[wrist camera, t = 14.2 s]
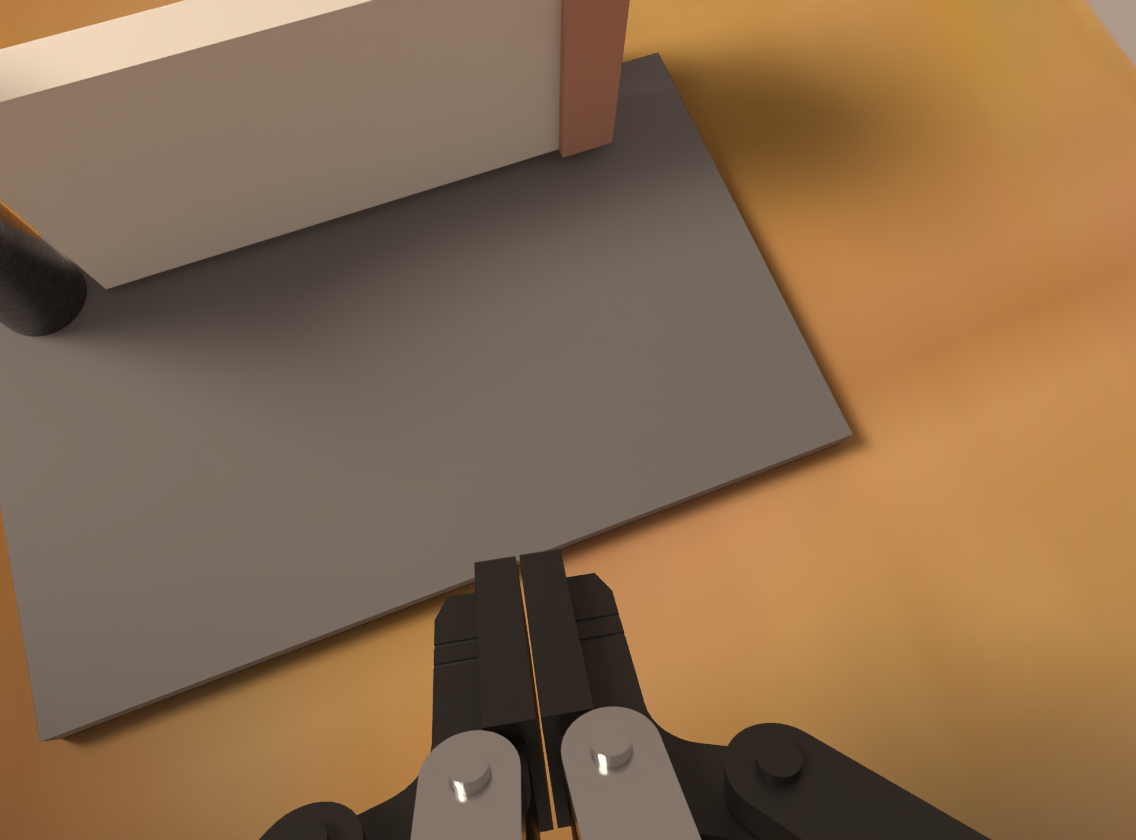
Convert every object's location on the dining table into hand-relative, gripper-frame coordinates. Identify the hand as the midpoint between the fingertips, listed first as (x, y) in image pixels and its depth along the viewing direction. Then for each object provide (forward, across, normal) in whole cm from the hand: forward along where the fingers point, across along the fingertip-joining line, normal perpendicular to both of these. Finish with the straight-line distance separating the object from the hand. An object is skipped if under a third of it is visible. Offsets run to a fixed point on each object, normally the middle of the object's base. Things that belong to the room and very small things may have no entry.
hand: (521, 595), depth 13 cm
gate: (+19, +4, -4) cm, 20 cm away
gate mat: (+16, +3, +2) cm, 16 cm away
